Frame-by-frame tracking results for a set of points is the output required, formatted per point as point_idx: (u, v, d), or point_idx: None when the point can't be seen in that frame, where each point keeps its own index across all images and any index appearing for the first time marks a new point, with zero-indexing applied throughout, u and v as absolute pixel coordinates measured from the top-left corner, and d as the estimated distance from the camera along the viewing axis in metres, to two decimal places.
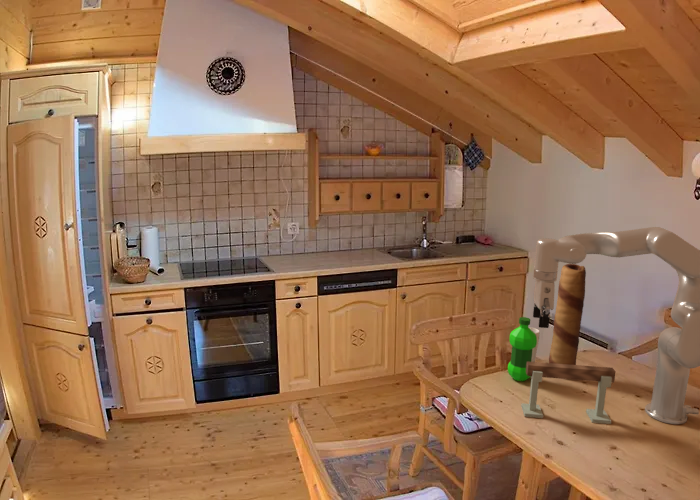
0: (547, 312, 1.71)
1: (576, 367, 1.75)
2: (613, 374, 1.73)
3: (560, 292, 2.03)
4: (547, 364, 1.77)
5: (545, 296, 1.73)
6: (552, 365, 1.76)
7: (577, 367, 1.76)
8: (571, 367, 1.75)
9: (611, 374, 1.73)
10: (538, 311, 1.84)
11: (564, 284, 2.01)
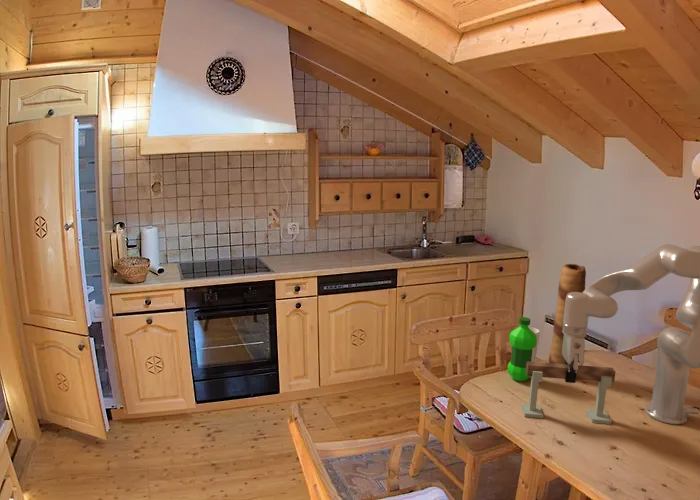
0: (574, 370, 1.71)
1: None
2: (613, 374, 1.73)
3: (560, 292, 2.03)
4: (547, 364, 1.77)
5: (575, 352, 1.70)
6: (552, 365, 1.76)
7: None
8: None
9: (611, 374, 1.73)
10: None
11: (564, 284, 2.01)
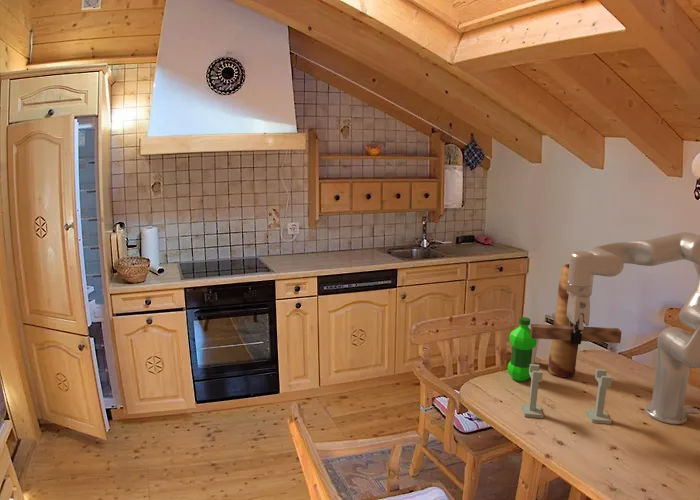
0: (580, 330, 1.68)
1: None
2: (619, 334, 1.70)
3: (560, 292, 2.03)
4: (552, 326, 1.74)
5: (580, 311, 1.66)
6: (557, 327, 1.73)
7: None
8: None
9: (617, 334, 1.70)
10: None
11: (564, 284, 2.01)
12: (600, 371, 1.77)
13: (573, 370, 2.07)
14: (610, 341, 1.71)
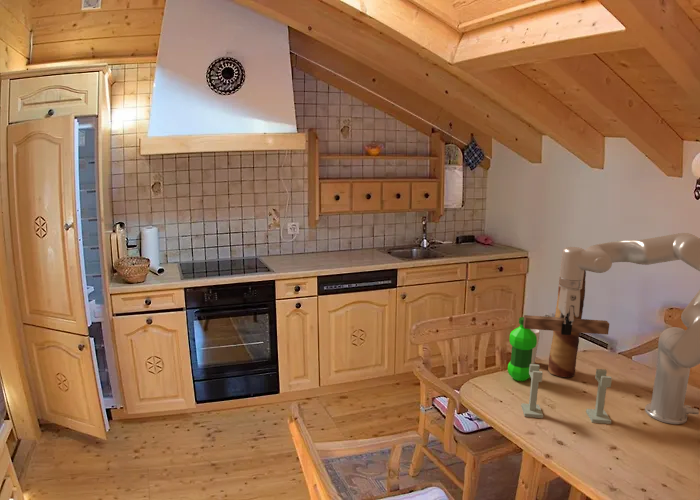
0: (570, 321, 1.78)
1: None
2: (607, 326, 1.80)
3: None
4: (544, 317, 1.84)
5: (571, 303, 1.76)
6: (548, 318, 1.83)
7: None
8: None
9: (605, 326, 1.80)
10: None
11: None
12: (600, 371, 1.77)
13: (573, 370, 2.07)
14: (598, 332, 1.81)
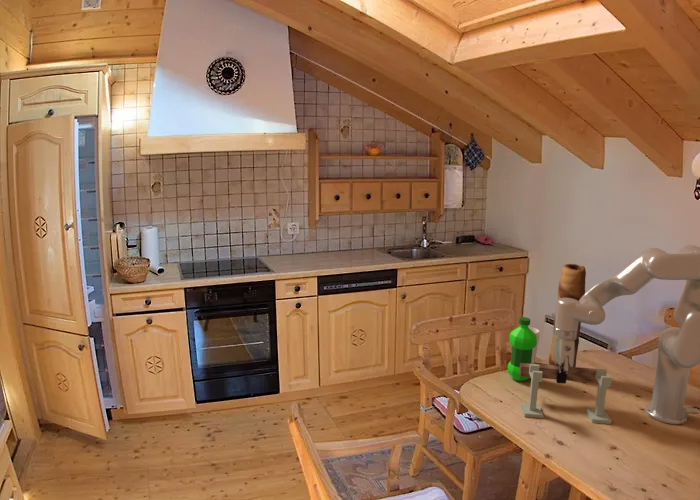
0: (565, 371, 1.82)
1: None
2: None
3: (560, 292, 2.03)
4: (539, 365, 1.88)
5: (565, 354, 1.80)
6: (544, 366, 1.87)
7: None
8: None
9: None
10: None
11: (564, 284, 2.01)
12: (600, 371, 1.77)
13: None
14: (593, 381, 1.85)
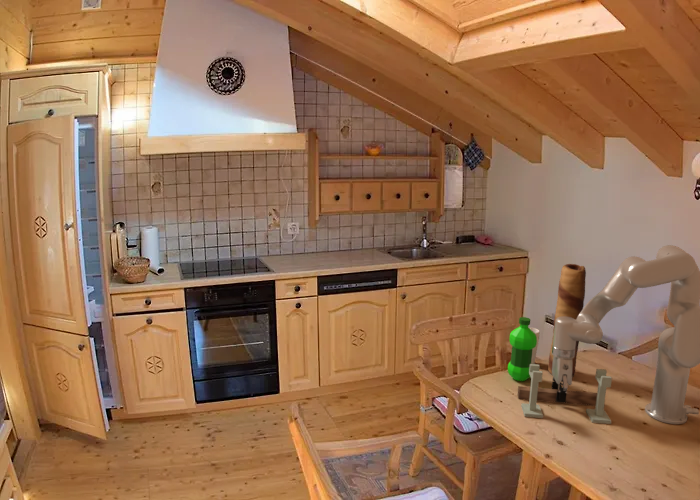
0: (564, 390, 1.81)
1: None
2: None
3: (560, 292, 2.03)
4: None
5: (563, 372, 1.82)
6: (542, 390, 1.89)
7: None
8: None
9: None
10: (556, 386, 1.92)
11: (564, 284, 2.01)
12: (600, 371, 1.77)
13: (573, 370, 2.07)
14: (590, 405, 1.86)
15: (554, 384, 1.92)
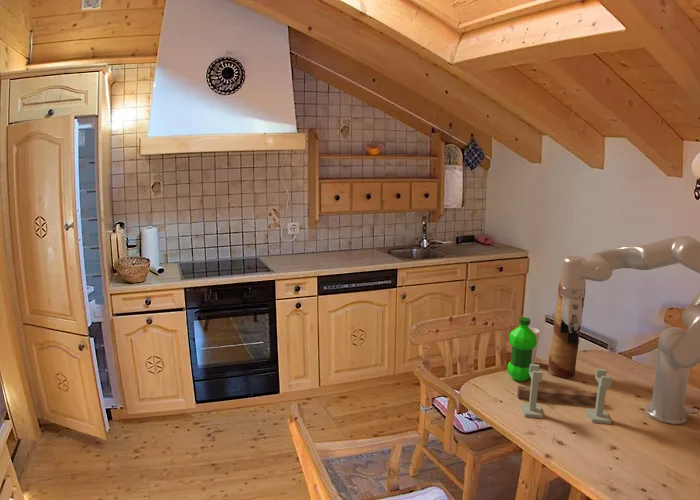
0: (576, 328, 1.75)
1: (564, 392, 1.88)
2: None
3: (560, 292, 2.03)
4: None
5: (573, 312, 1.77)
6: (542, 390, 1.89)
7: (565, 392, 1.88)
8: (560, 392, 1.88)
9: None
10: (565, 326, 1.88)
11: None
12: (600, 371, 1.77)
13: (573, 370, 2.07)
14: (590, 405, 1.86)
15: (563, 324, 1.88)
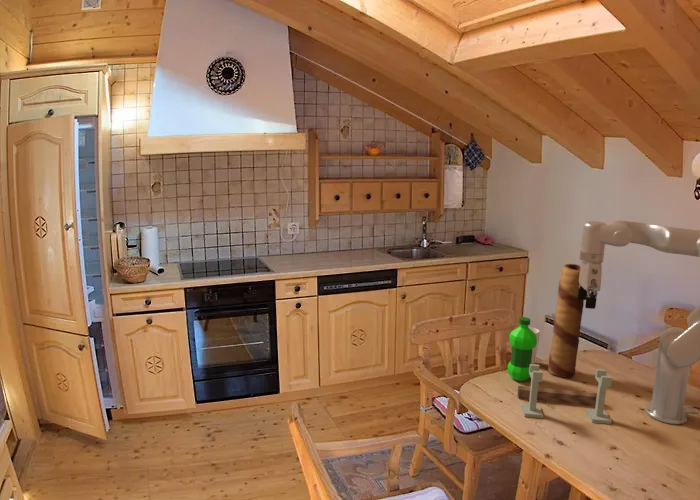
0: (595, 293, 1.75)
1: (564, 392, 1.88)
2: None
3: (560, 292, 2.03)
4: None
5: (592, 277, 1.77)
6: (542, 390, 1.90)
7: (565, 392, 1.88)
8: (560, 392, 1.88)
9: None
10: (583, 293, 1.88)
11: (564, 284, 2.01)
12: (600, 371, 1.77)
13: (573, 370, 2.07)
14: (590, 405, 1.86)
15: (580, 291, 1.88)
